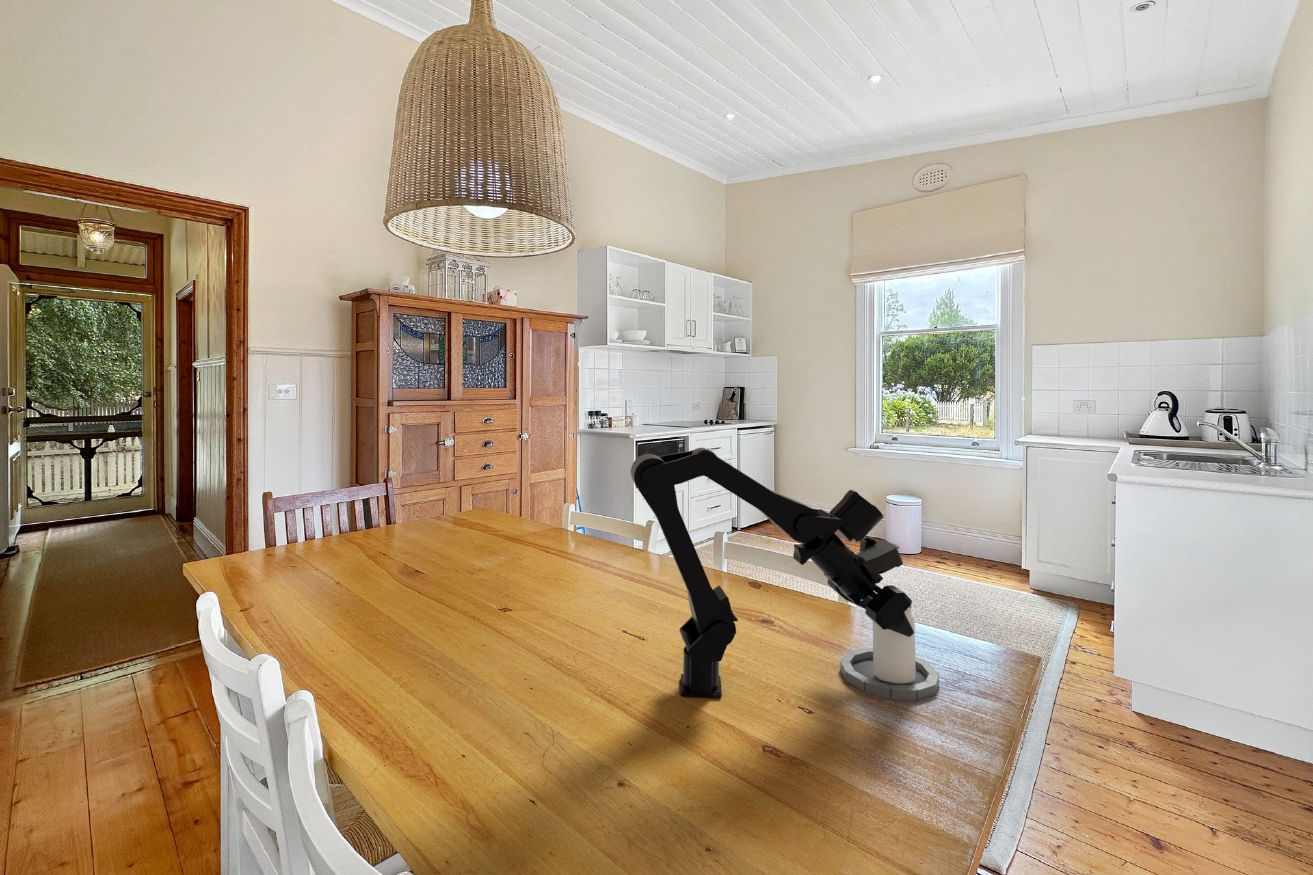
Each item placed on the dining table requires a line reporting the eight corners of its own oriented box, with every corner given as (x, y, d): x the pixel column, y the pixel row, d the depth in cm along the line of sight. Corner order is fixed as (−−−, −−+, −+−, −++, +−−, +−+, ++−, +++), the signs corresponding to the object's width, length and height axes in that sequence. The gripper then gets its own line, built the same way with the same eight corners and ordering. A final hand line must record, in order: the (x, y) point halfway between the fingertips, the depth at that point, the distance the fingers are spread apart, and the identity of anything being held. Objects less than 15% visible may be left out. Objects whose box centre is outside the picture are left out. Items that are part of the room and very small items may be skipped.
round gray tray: (953, 701, 93) (953, 691, 93) (854, 697, 94) (855, 688, 94) (917, 657, 108) (917, 649, 108) (832, 655, 109) (832, 646, 108)
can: (893, 667, 103) (891, 597, 103) (924, 680, 97) (923, 607, 97) (865, 674, 100) (863, 602, 100) (895, 688, 95) (894, 612, 95)
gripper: (902, 541, 89) (967, 610, 91) (846, 514, 107) (901, 572, 110) (849, 594, 88) (916, 663, 91) (802, 558, 107) (859, 616, 109)
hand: (897, 624), depth 100 cm, fingers open, 8 cm apart
